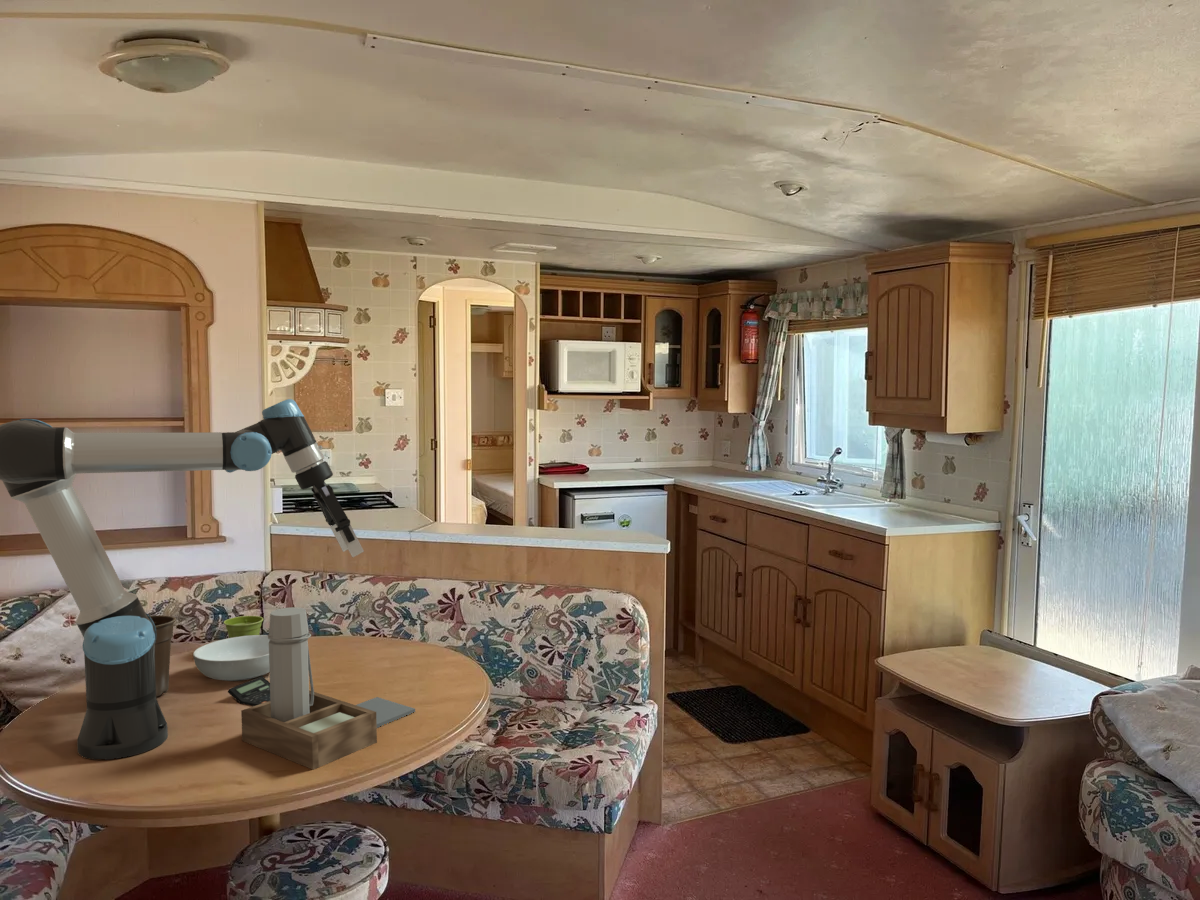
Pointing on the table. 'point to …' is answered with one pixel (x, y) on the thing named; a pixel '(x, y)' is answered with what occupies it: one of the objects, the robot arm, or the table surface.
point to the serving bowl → (234, 658)
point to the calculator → (252, 692)
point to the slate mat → (386, 710)
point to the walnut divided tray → (306, 744)
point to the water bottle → (289, 664)
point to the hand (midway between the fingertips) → (353, 551)
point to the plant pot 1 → (162, 651)
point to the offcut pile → (326, 722)
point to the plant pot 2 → (243, 626)
